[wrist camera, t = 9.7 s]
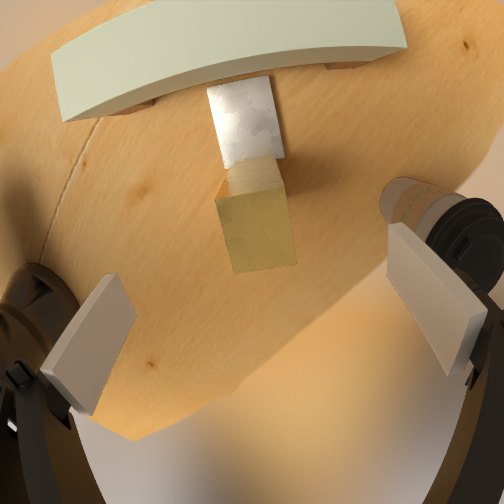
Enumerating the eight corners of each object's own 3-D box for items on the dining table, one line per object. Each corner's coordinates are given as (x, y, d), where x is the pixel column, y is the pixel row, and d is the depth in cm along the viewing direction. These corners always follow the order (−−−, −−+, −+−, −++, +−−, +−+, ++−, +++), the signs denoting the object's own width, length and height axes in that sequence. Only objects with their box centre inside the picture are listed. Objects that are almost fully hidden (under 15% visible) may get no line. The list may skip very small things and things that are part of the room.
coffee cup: (372, 156, 28) (453, 197, 15) (440, 169, 28) (527, 215, 14) (359, 235, 32) (413, 318, 19) (423, 241, 32) (489, 313, 19)
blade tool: (235, 206, 31) (219, 276, 19) (208, 89, 25) (165, 70, 13) (291, 196, 30) (312, 261, 18) (267, 76, 25) (275, 45, 12)
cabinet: (128, 114, 26) (62, 122, 16) (116, 58, 23) (49, 43, 13) (354, 68, 24) (407, 47, 13) (339, 10, 20) (380, -36, 10)
